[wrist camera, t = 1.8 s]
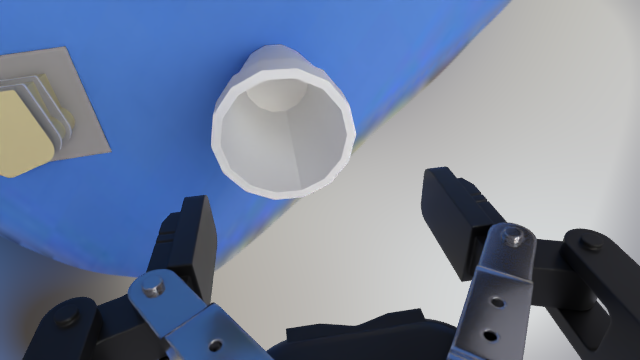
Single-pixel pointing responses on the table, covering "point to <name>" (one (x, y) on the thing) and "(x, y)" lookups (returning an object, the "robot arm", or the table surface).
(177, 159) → the table surface
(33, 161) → the stacked layers on plate
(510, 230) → the robot arm
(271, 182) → the foam cup
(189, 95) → the table surface
